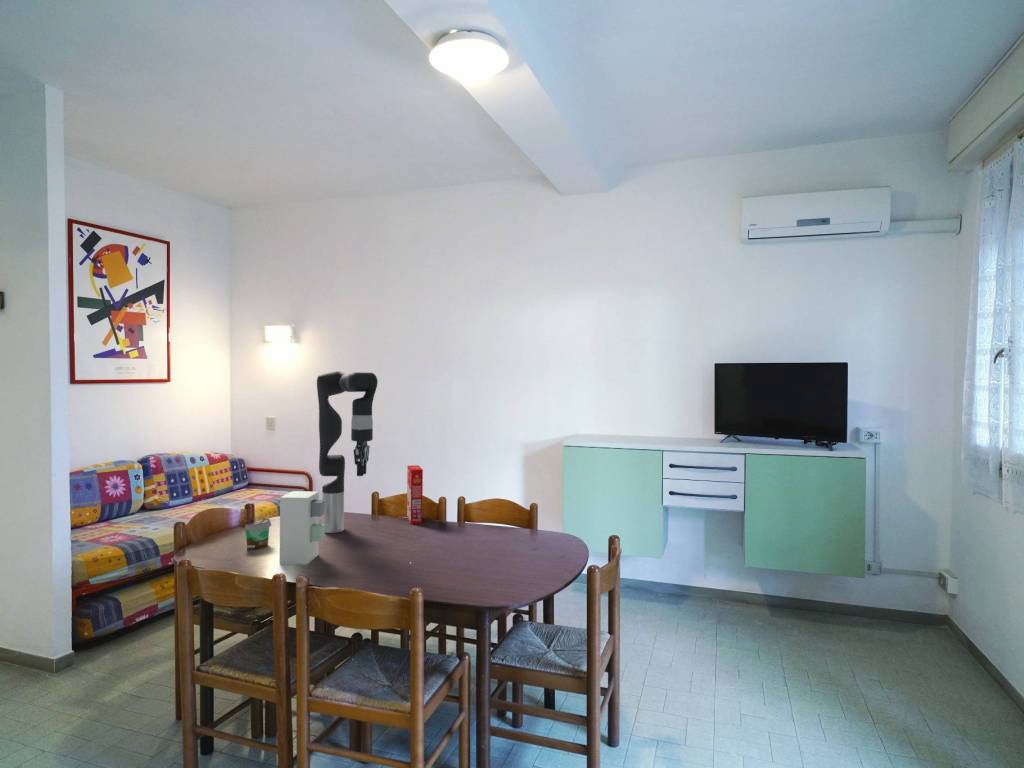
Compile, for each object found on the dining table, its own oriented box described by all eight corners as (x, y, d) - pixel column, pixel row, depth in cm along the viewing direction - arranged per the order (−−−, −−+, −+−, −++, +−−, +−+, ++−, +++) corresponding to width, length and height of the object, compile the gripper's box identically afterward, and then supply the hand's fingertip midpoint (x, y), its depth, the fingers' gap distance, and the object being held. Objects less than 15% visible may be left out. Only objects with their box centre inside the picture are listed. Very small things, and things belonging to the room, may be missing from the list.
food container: (258, 551, 234) (259, 525, 234) (244, 550, 235) (244, 524, 235) (277, 543, 246) (277, 518, 246) (263, 542, 247) (264, 517, 247)
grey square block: (308, 513, 227) (308, 499, 227) (324, 513, 227) (325, 500, 227) (304, 516, 222) (304, 502, 222) (320, 516, 222) (320, 502, 222)
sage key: (308, 537, 227) (308, 524, 227) (324, 537, 227) (324, 524, 227) (303, 540, 222) (304, 527, 222) (320, 541, 222) (320, 527, 222)
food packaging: (422, 523, 283) (422, 469, 282) (410, 524, 281) (411, 470, 281) (417, 516, 297) (418, 465, 296) (406, 517, 295) (407, 465, 295)
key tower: (291, 554, 231) (292, 491, 230) (318, 554, 231) (318, 491, 230) (279, 564, 219) (280, 497, 218) (307, 564, 219) (307, 497, 218)
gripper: (356, 425, 227) (356, 472, 227) (346, 429, 213) (345, 478, 213) (376, 426, 227) (376, 472, 227) (367, 429, 213) (367, 478, 213)
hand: (361, 474), depth 220 cm, fingers open, 3 cm apart
